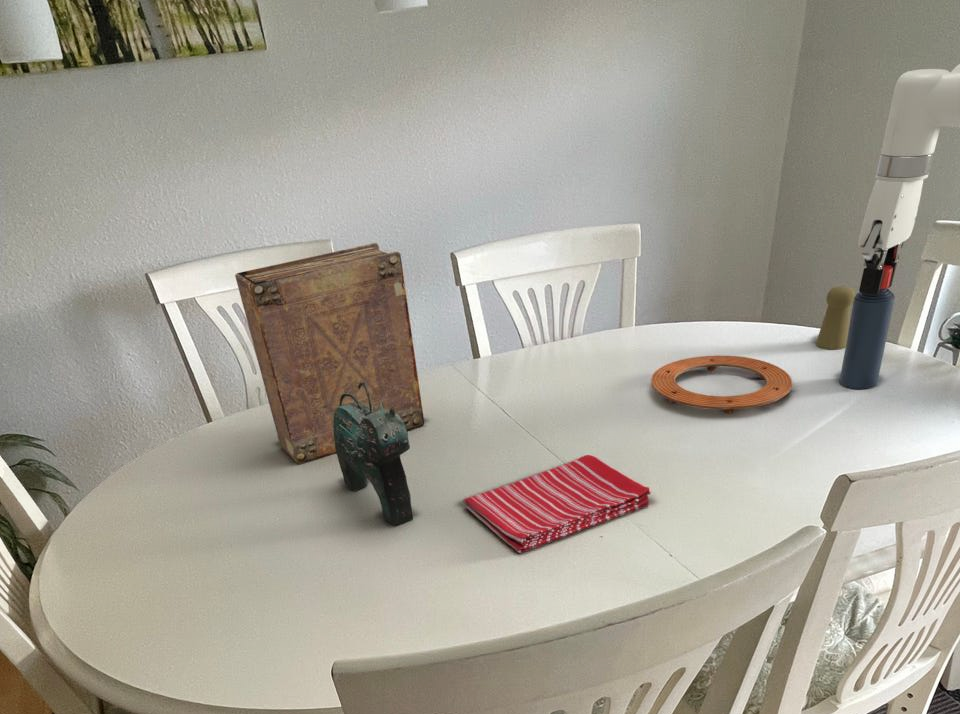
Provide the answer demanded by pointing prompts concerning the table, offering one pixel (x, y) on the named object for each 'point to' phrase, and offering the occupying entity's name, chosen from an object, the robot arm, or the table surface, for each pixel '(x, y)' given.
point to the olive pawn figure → (836, 318)
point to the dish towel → (557, 502)
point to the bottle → (866, 339)
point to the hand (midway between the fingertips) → (875, 288)
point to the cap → (886, 276)
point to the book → (331, 342)
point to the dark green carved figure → (374, 454)
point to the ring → (771, 392)
